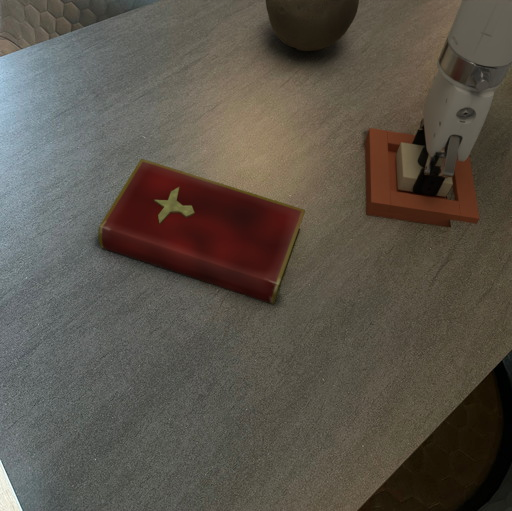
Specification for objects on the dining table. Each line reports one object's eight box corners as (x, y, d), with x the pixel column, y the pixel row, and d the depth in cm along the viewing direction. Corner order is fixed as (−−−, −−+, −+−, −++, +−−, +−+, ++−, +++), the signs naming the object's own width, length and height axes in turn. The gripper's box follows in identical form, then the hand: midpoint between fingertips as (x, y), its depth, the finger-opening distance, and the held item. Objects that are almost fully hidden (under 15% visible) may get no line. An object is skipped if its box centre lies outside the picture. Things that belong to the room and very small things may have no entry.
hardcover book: (272, 307, 71) (278, 286, 67) (100, 250, 72) (97, 227, 69) (299, 230, 78) (305, 208, 75) (141, 180, 80) (141, 156, 76)
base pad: (460, 155, 90) (467, 143, 88) (472, 230, 81) (479, 218, 79) (364, 140, 89) (369, 127, 87) (366, 214, 81) (371, 202, 79)
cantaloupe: (256, 18, 104) (268, -73, 92) (339, 24, 106) (361, -65, 94) (261, 71, 96) (275, -21, 84) (351, 77, 98) (377, -13, 86)
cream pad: (441, 162, 86) (453, 138, 83) (446, 197, 82) (458, 173, 79) (395, 155, 86) (405, 130, 82) (397, 189, 82) (408, 165, 78)
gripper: (520, 116, 64) (456, 226, 79) (496, 21, 75) (443, 133, 89) (448, 105, 64) (397, 218, 78) (435, 11, 75) (392, 125, 89)
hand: (422, 172), depth 84 cm, fingers closed on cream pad, 6 cm apart
